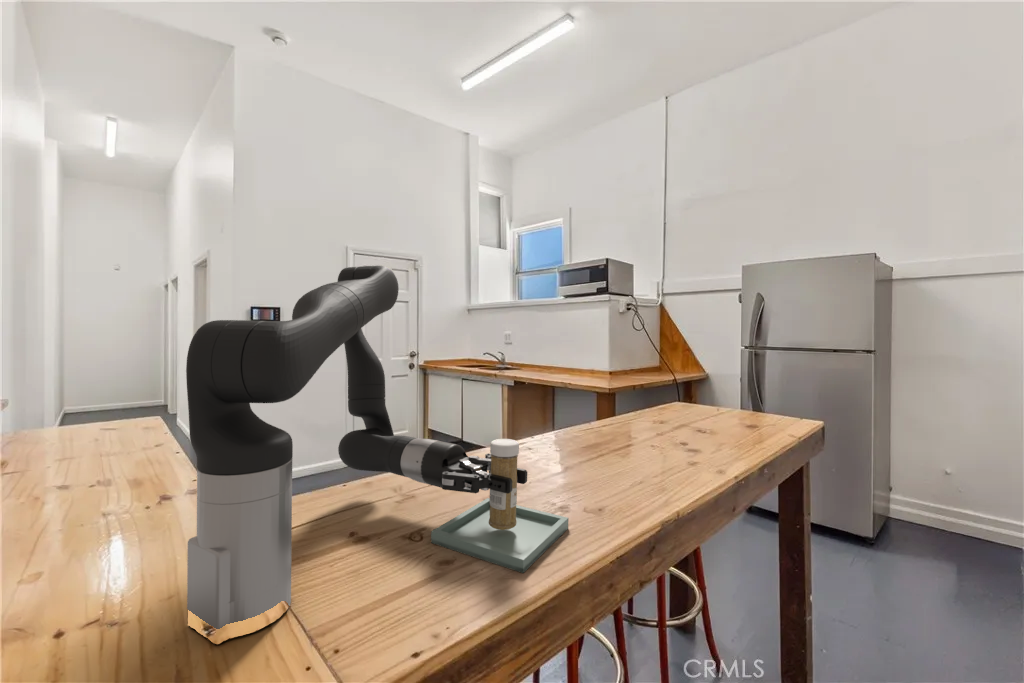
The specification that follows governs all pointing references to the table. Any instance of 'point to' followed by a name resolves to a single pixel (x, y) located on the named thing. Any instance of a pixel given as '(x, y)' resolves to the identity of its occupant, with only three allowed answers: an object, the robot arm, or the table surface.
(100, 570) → the table surface
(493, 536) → the tray
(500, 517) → the spice jar
